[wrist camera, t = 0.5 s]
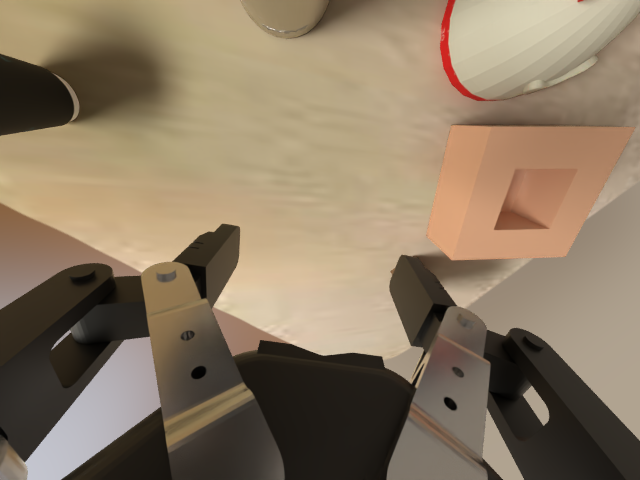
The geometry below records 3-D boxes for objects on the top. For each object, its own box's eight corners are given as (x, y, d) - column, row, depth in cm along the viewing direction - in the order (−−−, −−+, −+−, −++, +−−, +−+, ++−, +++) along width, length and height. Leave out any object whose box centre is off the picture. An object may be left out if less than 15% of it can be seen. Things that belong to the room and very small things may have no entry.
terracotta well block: (451, 125, 29) (491, 126, 23) (566, 125, 30) (635, 127, 24) (426, 235, 36) (452, 260, 30) (520, 233, 37) (565, 256, 31)
